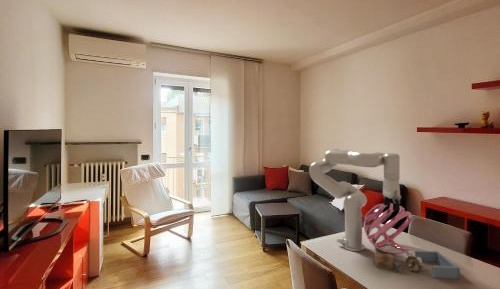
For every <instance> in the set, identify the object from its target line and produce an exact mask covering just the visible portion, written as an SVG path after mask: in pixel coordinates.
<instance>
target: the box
mask: <svg viewBox="0 0 500 289" xmlns="http://www.w3.org/2000/svg"><path fill="white" fill-rule="evenodd" d="M414 256H415V258H416V257H420V258H421V259H422V262H436V263H437V264H438V265H432V266H431V277H432V278H437V279H458V280H460V271H461V270H460V269H461V268H460V267H459V266H458V265H456V264H455V263H454V262H452V261H451V260H450V259H449V258H447V257H446V256H445V255H443V254H442V253H440V251H437V250H414Z"/></svg>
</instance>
